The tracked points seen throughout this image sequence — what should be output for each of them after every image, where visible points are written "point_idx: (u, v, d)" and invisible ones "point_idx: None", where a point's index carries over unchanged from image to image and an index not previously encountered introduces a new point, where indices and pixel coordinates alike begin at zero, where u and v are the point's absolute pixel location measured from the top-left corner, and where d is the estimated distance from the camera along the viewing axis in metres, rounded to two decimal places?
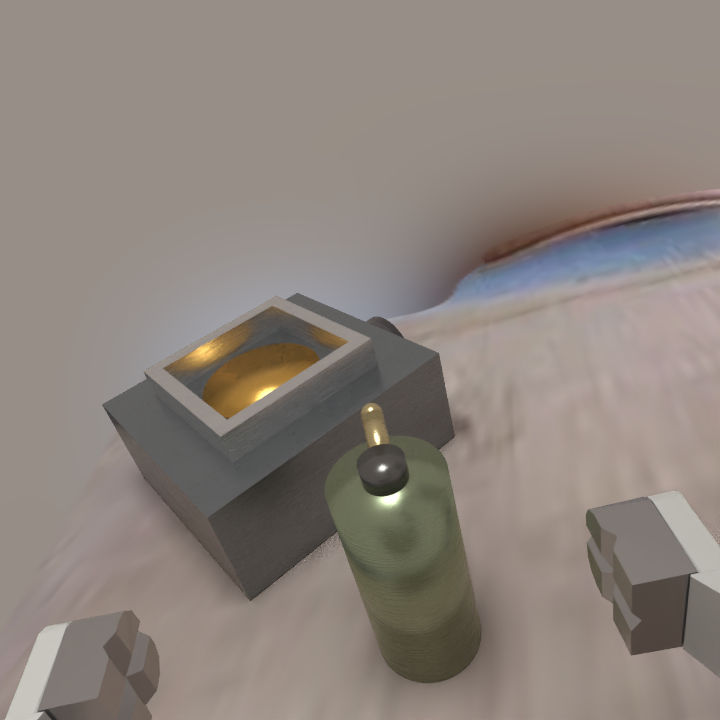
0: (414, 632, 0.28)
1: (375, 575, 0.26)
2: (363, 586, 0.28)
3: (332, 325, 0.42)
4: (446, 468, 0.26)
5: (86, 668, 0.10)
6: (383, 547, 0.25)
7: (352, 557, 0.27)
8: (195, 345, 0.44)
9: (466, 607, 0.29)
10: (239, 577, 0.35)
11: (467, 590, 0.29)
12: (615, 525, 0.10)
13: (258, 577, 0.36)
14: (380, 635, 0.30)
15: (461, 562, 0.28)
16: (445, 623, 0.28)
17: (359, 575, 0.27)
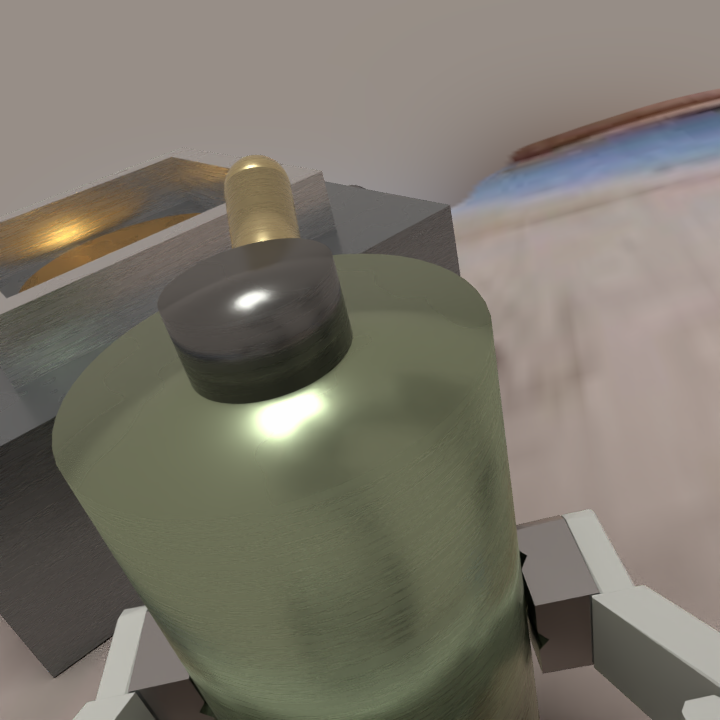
0: None
1: (227, 694, 0.07)
2: (211, 709, 0.09)
3: None
4: (484, 314, 0.07)
5: (173, 650, 0.10)
6: (228, 600, 0.06)
7: None
8: (26, 209, 0.25)
9: None
10: (18, 631, 0.17)
11: (530, 713, 0.10)
12: (527, 544, 0.10)
13: (68, 630, 0.17)
14: None
15: (520, 638, 0.09)
16: None
17: None
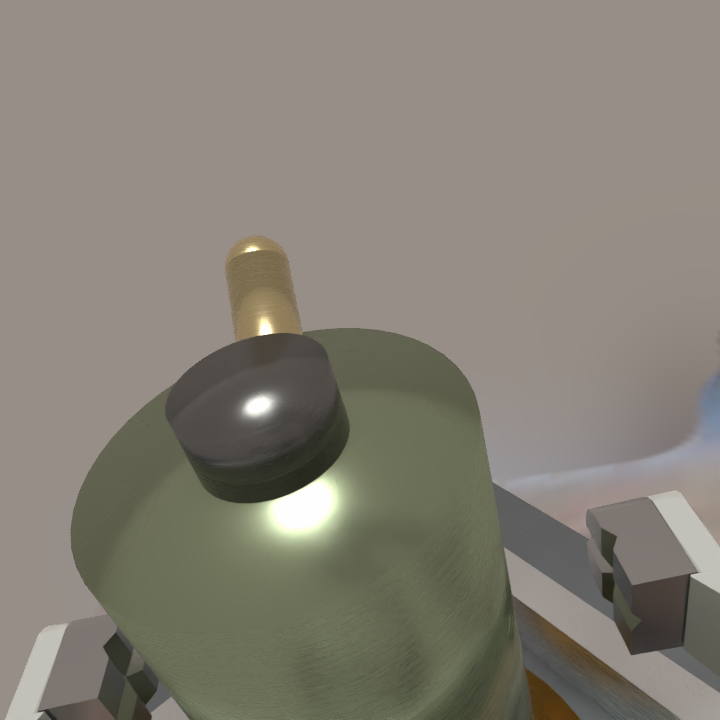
0: None
1: None
2: None
3: (646, 660, 0.14)
4: (473, 407, 0.08)
5: (86, 668, 0.10)
6: (238, 695, 0.07)
7: (172, 696, 0.08)
8: None
9: None
10: None
11: None
12: (615, 525, 0.10)
13: None
14: None
15: (516, 694, 0.09)
16: None
17: None
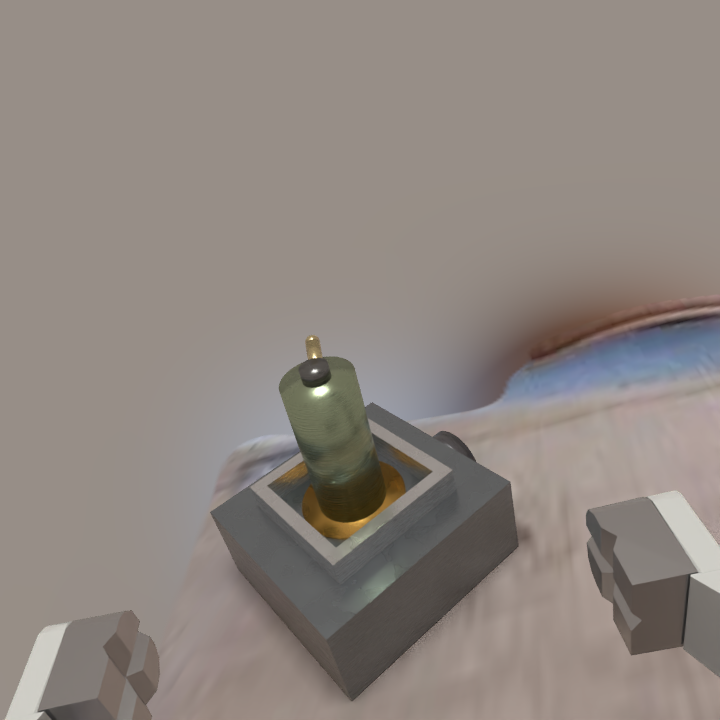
0: (335, 481, 0.44)
1: (308, 438, 0.42)
2: (303, 449, 0.44)
3: (415, 451, 0.48)
4: (354, 372, 0.42)
5: (86, 668, 0.10)
6: (311, 416, 0.41)
7: (295, 427, 0.43)
8: (292, 462, 0.50)
9: (370, 469, 0.45)
10: (345, 683, 0.42)
11: (371, 458, 0.45)
12: (615, 525, 0.10)
13: (359, 681, 0.42)
14: (316, 488, 0.46)
15: (365, 436, 0.44)
16: (355, 476, 0.44)
17: (300, 441, 0.43)
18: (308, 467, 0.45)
